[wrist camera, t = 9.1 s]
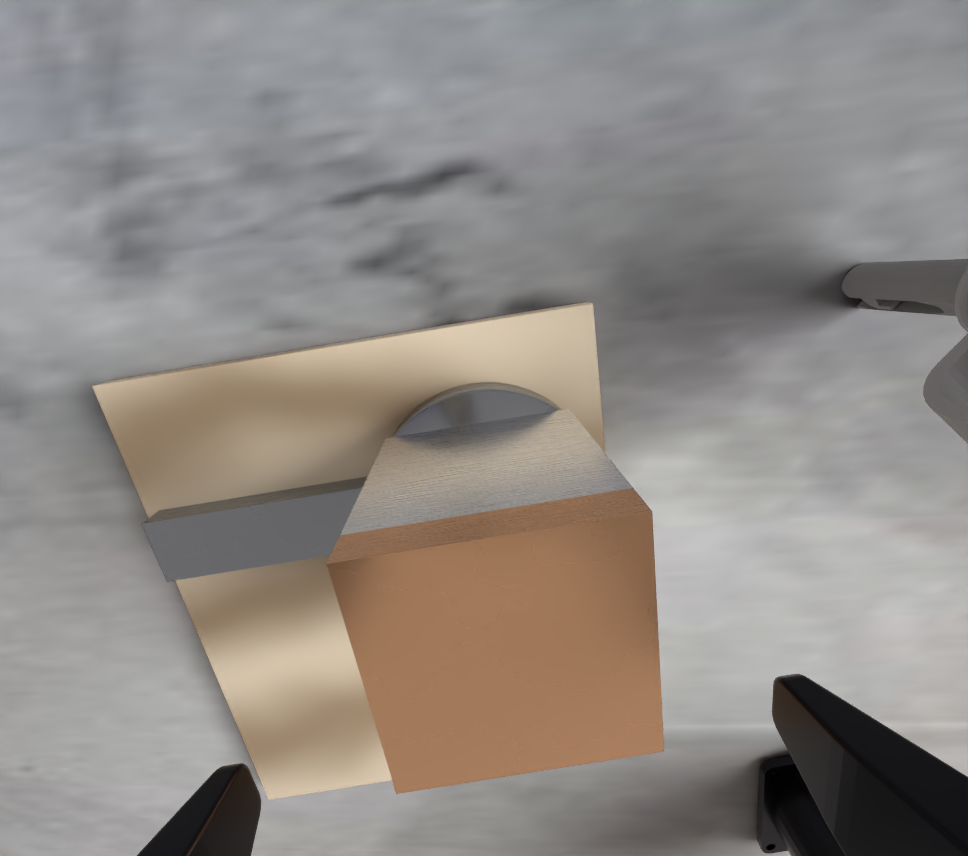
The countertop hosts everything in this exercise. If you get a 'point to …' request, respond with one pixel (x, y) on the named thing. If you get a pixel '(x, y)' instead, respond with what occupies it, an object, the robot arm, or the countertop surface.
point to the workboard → (304, 462)
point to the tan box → (501, 602)
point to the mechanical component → (930, 290)
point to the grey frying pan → (308, 498)
